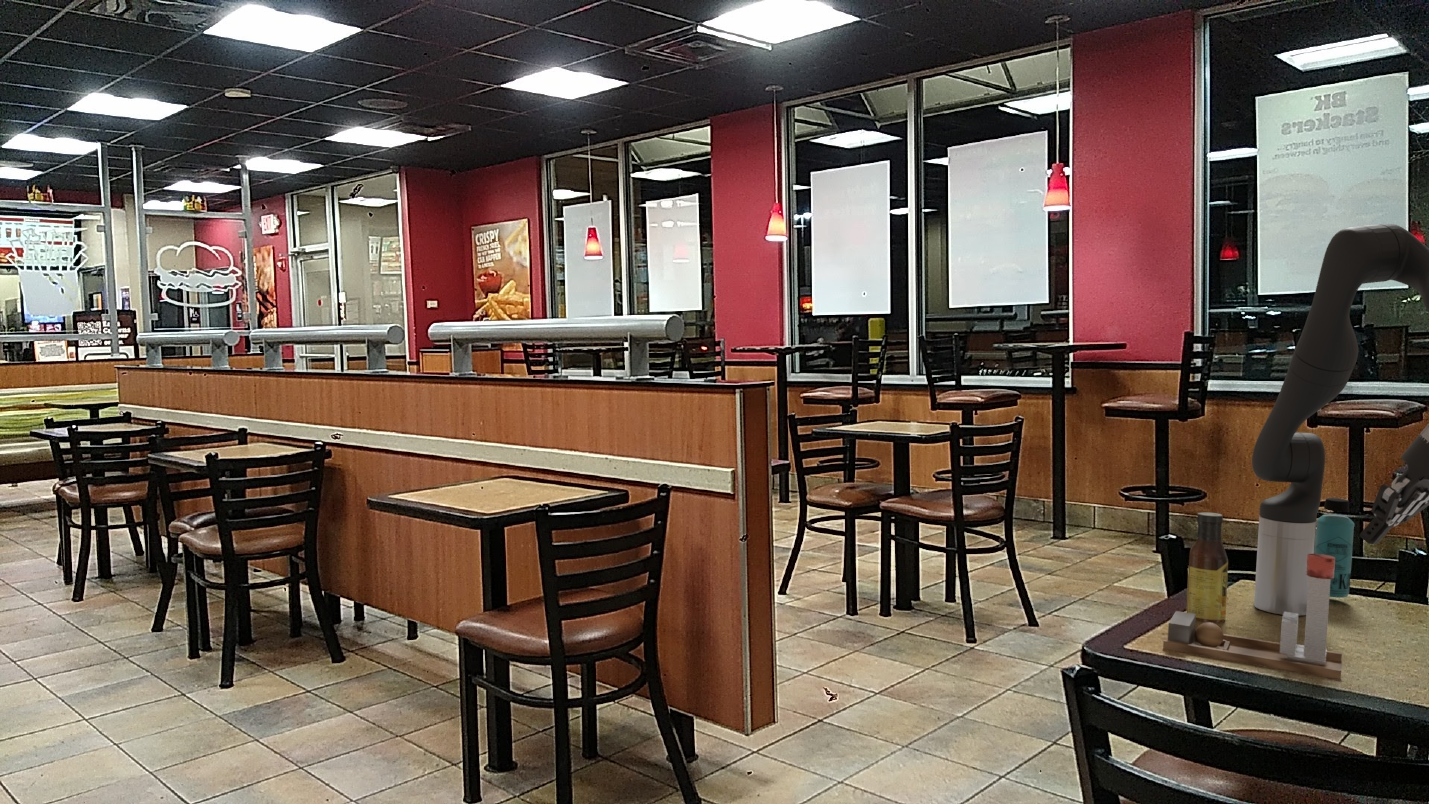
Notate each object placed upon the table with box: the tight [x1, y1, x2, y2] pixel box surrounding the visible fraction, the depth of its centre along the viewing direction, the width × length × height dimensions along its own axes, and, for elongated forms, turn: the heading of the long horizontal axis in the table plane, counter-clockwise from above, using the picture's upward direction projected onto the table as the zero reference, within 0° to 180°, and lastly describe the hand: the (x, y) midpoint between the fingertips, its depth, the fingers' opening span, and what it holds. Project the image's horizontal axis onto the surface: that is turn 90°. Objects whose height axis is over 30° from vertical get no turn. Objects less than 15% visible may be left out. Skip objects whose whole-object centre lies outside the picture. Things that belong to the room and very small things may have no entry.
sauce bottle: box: [1186, 511, 1229, 624], centre depth 177 cm, size 6×6×20 cm
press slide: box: [1279, 554, 1335, 667], centre depth 153 cm, size 6×7×16 cm
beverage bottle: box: [1314, 497, 1356, 598], centre depth 194 cm, size 6×7×20 cm
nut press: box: [1162, 610, 1343, 681], centre depth 158 cm, size 24×10×6 cm, turn 58°
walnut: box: [1196, 622, 1224, 647], centre depth 161 cm, size 4×4×4 cm
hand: (1367, 540), depth 149 cm, fingers closed
